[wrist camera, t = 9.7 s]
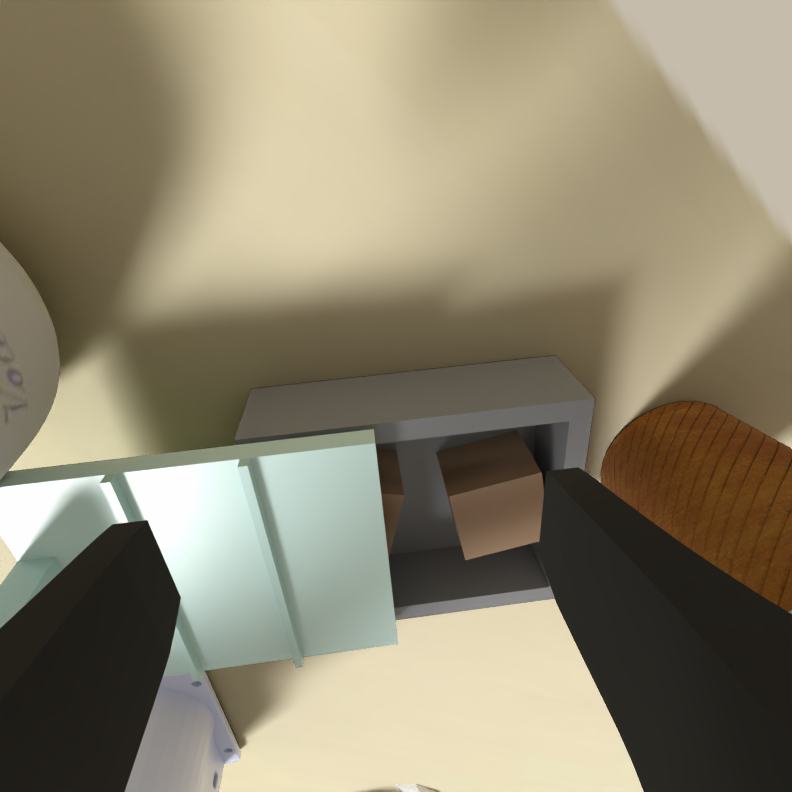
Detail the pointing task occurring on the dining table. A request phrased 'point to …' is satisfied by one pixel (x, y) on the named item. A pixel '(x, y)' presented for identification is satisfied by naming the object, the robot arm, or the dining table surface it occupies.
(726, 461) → the disposable coffee cup
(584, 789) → the dining table surface
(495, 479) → the walnut block
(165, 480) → the lid
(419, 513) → the tub
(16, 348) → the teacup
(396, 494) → the walnut block
